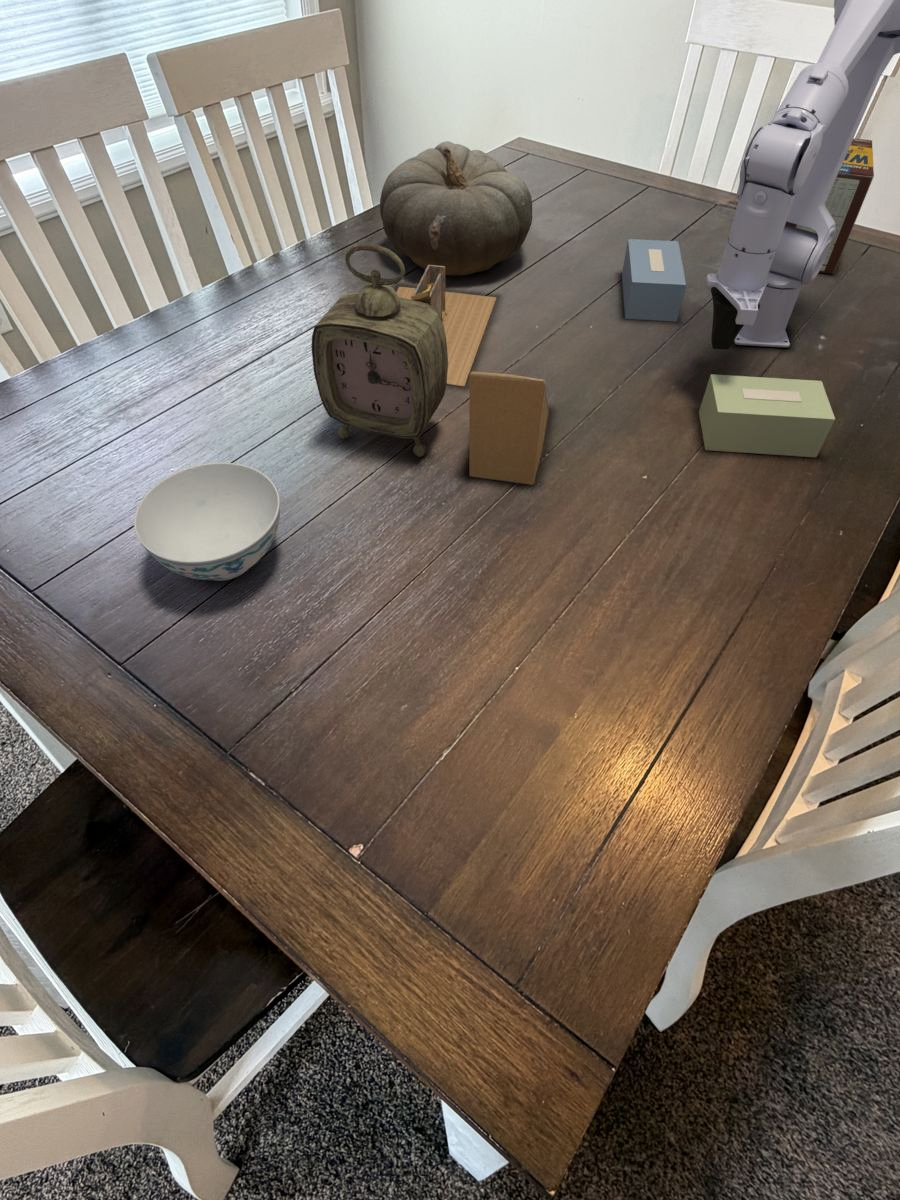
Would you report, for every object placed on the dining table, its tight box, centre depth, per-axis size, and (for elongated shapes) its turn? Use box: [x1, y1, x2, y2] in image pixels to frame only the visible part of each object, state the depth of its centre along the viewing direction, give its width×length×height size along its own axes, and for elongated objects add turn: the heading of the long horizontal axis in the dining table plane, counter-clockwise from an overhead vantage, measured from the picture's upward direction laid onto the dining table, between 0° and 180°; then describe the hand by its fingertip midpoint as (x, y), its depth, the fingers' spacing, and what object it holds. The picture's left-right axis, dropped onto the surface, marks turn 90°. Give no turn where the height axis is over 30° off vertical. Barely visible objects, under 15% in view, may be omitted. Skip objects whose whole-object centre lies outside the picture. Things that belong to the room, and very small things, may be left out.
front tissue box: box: [698, 374, 836, 458], centre depth 94 cm, size 8×14×6 cm, turn 84°
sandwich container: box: [468, 371, 550, 486], centre depth 90 cm, size 9×15×15 cm, turn 168°
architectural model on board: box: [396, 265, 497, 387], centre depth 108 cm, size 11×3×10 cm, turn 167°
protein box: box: [785, 137, 875, 275], centre depth 122 cm, size 10×15×16 cm
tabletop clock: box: [311, 243, 448, 458], centre depth 87 cm, size 14×9×25 cm, turn 70°
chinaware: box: [133, 462, 281, 582], centre depth 80 cm, size 15×15×8 cm
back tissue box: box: [621, 238, 687, 323], centre depth 116 cm, size 14×8×6 cm, turn 174°
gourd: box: [379, 140, 533, 277], centre depth 121 cm, size 25×25×17 cm
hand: (719, 346), depth 97 cm, fingers closed
